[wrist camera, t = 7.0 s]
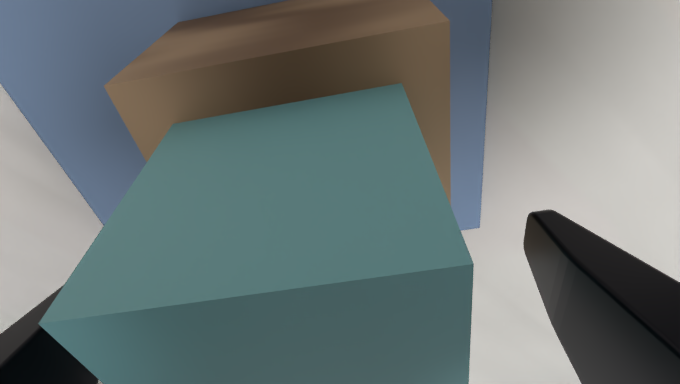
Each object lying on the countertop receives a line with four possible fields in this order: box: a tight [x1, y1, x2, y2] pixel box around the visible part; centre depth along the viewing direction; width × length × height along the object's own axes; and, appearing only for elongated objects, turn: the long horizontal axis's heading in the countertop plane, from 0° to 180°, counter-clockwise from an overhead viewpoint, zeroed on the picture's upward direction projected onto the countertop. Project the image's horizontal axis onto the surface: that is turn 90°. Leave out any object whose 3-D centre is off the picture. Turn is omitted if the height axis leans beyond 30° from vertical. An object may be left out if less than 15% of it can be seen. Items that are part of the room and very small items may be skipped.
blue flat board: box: [0, 0, 492, 230], centre depth 15 cm, size 16×12×1 cm
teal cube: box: [38, 83, 474, 384], centre depth 8 cm, size 5×5×5 cm
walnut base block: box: [104, 0, 451, 206], centre depth 12 cm, size 7×7×5 cm
